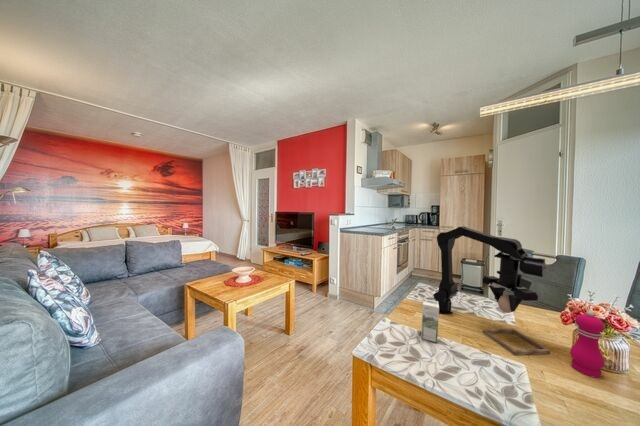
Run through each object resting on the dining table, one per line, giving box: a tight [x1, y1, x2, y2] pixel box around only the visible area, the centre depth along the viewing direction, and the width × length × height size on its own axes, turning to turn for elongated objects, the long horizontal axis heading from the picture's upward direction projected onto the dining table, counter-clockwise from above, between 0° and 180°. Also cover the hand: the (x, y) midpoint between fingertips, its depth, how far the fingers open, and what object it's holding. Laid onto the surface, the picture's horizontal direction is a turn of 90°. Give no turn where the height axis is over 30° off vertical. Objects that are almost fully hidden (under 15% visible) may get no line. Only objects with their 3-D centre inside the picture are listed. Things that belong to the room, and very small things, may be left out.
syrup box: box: [420, 298, 440, 344], centre depth 88 cm, size 6×6×14 cm
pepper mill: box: [569, 310, 606, 378], centre depth 72 cm, size 7×7×20 cm
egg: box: [497, 293, 513, 314], centre depth 90 cm, size 5×5×7 cm
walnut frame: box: [482, 328, 551, 357], centre depth 87 cm, size 14×14×1 cm
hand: (506, 307), depth 90 cm, fingers closed on egg, 5 cm apart
